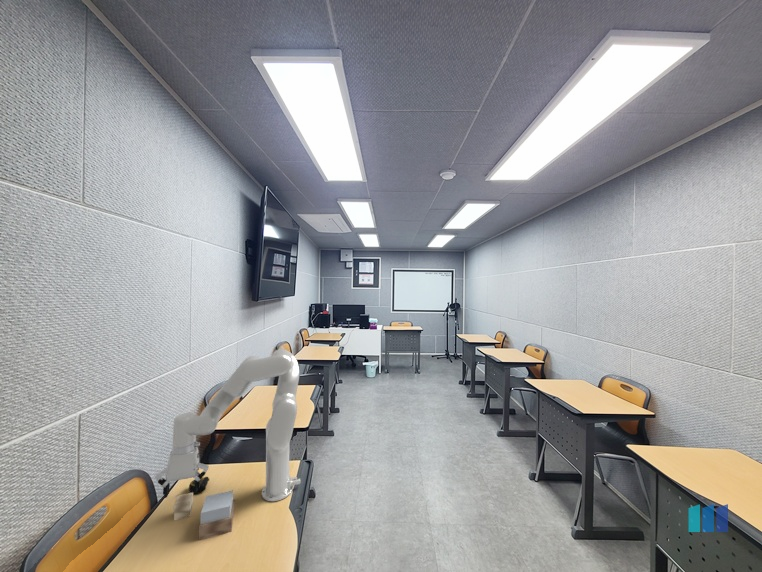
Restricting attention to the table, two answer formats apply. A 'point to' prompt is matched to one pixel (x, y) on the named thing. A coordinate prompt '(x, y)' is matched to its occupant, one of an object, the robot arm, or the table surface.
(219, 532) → the bottom block
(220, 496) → the top block
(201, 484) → the tape measure
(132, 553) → the table surface
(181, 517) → the beech block
